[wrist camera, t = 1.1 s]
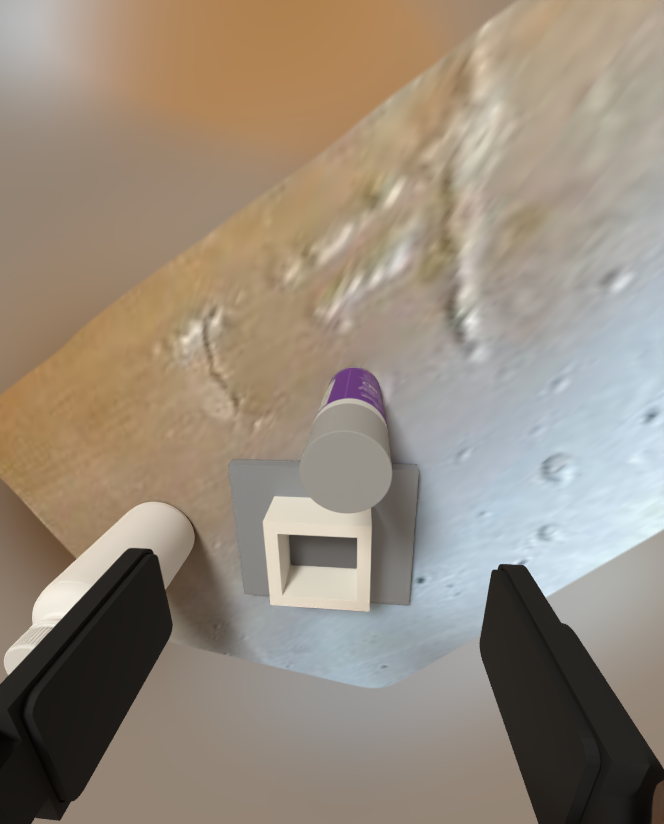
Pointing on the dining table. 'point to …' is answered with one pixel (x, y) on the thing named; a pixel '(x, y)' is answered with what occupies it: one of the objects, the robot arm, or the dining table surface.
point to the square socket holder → (321, 540)
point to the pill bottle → (135, 529)
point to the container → (348, 445)
